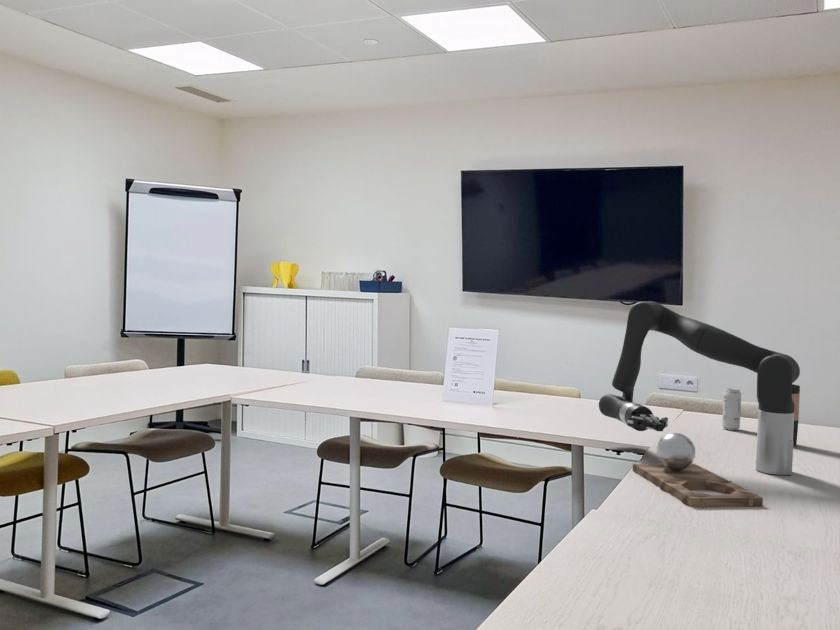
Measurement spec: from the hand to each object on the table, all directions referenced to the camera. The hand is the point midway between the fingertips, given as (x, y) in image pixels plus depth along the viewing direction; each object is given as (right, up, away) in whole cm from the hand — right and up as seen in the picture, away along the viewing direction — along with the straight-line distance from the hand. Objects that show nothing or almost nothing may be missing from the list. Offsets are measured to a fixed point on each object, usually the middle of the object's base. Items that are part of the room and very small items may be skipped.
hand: (660, 427), depth 216 cm
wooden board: (+2, -13, -19) cm, 23 cm away
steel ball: (+1, -5, -9) cm, 10 cm away
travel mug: (+54, -12, +41) cm, 69 cm away
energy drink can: (+46, -11, +66) cm, 81 cm away
